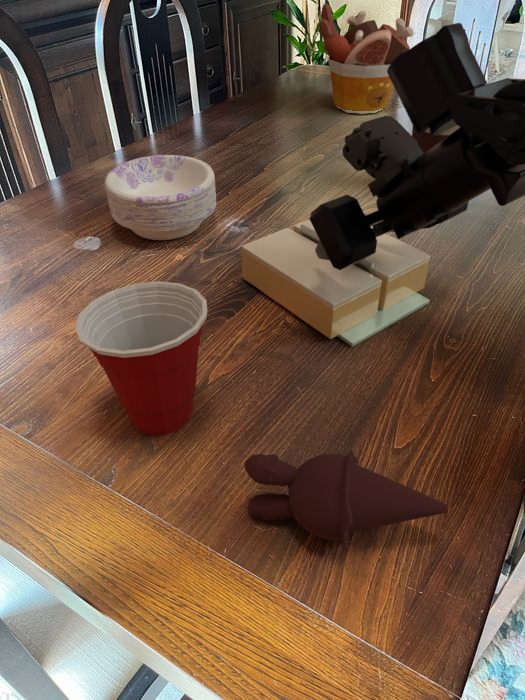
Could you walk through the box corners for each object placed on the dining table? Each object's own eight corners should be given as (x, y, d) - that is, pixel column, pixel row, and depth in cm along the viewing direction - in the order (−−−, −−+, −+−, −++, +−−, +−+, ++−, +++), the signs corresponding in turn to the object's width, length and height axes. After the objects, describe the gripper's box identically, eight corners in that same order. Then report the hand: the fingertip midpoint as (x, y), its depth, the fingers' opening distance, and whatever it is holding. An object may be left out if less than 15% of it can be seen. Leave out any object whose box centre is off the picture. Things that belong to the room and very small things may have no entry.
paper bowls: (157, 263, 74) (149, 208, 69) (93, 227, 82) (82, 175, 77) (239, 224, 82) (237, 172, 77) (174, 194, 90) (168, 146, 85)
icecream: (448, 438, 42) (254, 422, 45) (457, 503, 35) (229, 479, 38) (440, 511, 44) (258, 491, 48) (447, 583, 38) (236, 554, 41)
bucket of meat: (404, 99, 129) (419, -1, 116) (401, 121, 117) (416, 12, 104) (320, 94, 133) (325, -3, 120) (307, 115, 121) (311, 9, 108)
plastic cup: (177, 359, 59) (163, 261, 51) (240, 417, 52) (234, 314, 44) (82, 407, 53) (50, 305, 46) (139, 477, 47) (112, 372, 39)
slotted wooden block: (436, 299, 67) (445, 262, 63) (343, 352, 59) (347, 313, 56) (322, 237, 79) (324, 203, 76) (233, 274, 71) (231, 239, 68)
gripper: (469, 77, 54) (372, 157, 68) (330, 117, 45) (251, 200, 59) (519, 181, 54) (412, 239, 68) (391, 240, 45) (297, 294, 59)
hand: (347, 241), depth 63 cm, fingers open, 9 cm apart
